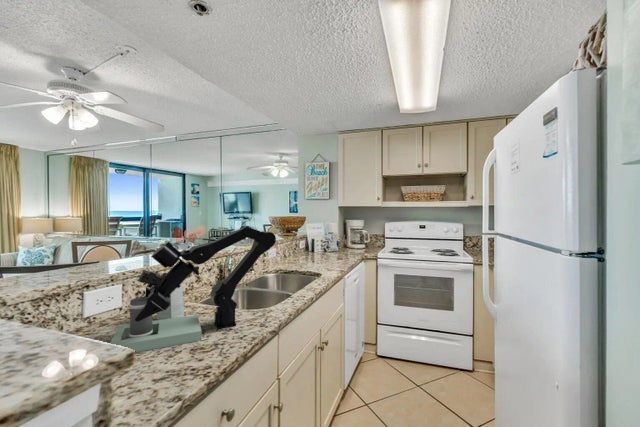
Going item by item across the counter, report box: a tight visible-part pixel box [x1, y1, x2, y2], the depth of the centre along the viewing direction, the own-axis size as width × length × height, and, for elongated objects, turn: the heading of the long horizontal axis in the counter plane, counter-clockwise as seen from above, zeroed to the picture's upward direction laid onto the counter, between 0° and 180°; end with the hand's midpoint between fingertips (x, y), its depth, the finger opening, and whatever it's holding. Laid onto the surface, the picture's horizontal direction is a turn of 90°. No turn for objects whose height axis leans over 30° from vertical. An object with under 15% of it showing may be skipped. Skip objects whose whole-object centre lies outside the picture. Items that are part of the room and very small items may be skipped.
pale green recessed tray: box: [110, 314, 203, 353], centre depth 92 cm, size 24×16×3 cm, turn 118°
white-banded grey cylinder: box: [128, 296, 154, 339], centre depth 89 cm, size 6×6×13 cm
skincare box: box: [156, 281, 185, 320], centre depth 108 cm, size 8×6×15 cm
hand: (135, 315), depth 89 cm, fingers open, 9 cm apart
